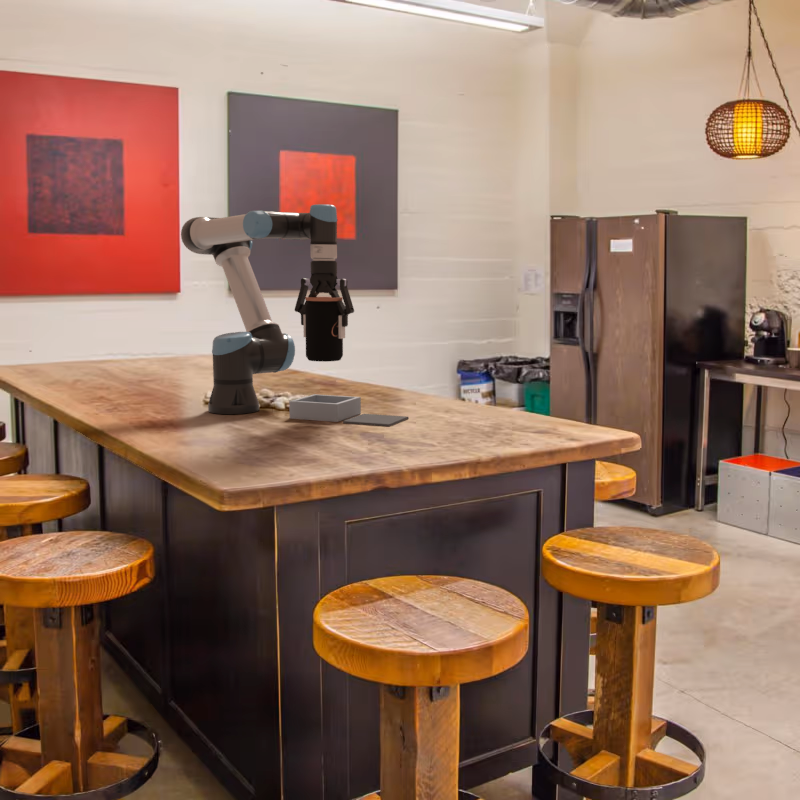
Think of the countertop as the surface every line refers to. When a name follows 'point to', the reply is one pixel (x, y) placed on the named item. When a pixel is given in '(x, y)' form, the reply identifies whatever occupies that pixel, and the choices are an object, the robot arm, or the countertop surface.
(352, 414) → the pocket frame
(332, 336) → the coffee jar
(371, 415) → the pad
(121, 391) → the countertop surface
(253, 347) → the robot arm
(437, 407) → the countertop surface
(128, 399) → the countertop surface
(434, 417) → the countertop surface
